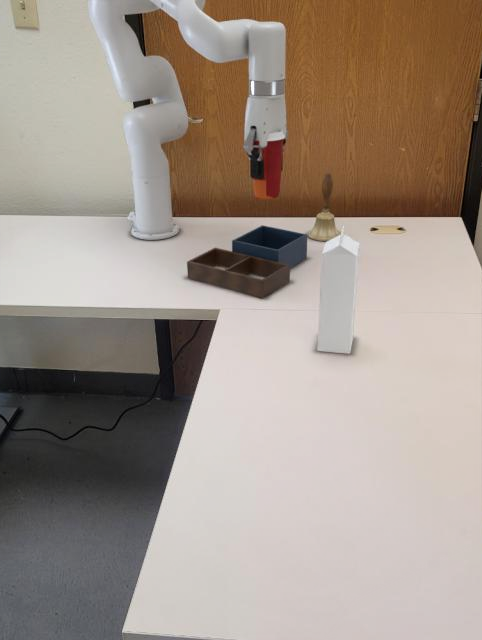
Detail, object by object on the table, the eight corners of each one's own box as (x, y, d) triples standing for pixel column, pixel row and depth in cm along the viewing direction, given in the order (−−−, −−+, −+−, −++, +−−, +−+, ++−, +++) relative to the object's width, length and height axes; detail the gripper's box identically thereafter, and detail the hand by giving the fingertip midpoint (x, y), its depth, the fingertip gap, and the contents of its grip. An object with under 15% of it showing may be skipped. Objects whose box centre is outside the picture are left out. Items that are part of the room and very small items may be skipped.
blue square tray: (232, 265, 169) (231, 240, 166) (262, 248, 178) (262, 225, 175) (278, 276, 163) (278, 250, 160) (306, 258, 171) (307, 234, 168)
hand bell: (342, 231, 187) (345, 169, 179) (339, 242, 180) (342, 178, 172) (310, 229, 189) (312, 168, 181) (306, 240, 182) (308, 177, 174)
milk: (317, 351, 132) (321, 235, 121) (321, 336, 137) (325, 224, 126) (350, 354, 131) (358, 237, 119) (353, 339, 136) (361, 225, 124)
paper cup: (284, 190, 164) (285, 126, 157) (283, 200, 158) (284, 134, 151) (250, 190, 165) (249, 126, 158) (247, 200, 159) (247, 134, 151)
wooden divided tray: (187, 278, 163) (186, 261, 161) (215, 263, 170) (215, 247, 168) (263, 298, 152) (263, 281, 150) (289, 281, 160) (290, 264, 158)
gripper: (274, 81, 158) (273, 163, 167) (227, 93, 146) (229, 181, 155) (304, 83, 154) (301, 168, 163) (258, 96, 142) (258, 186, 151)
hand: (266, 173), depth 159 cm, fingers closed on paper cup, 6 cm apart
